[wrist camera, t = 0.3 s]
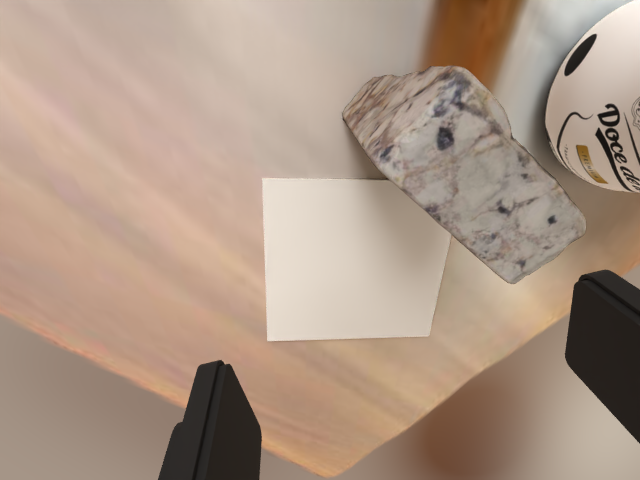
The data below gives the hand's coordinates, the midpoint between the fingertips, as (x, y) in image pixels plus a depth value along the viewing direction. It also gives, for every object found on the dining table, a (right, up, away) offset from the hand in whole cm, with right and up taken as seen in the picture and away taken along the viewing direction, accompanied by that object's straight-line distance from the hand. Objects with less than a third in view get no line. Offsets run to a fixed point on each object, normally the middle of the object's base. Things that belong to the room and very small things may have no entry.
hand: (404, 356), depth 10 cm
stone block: (+6, +14, +27) cm, 31 cm away
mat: (+2, 0, +34) cm, 34 cm away
